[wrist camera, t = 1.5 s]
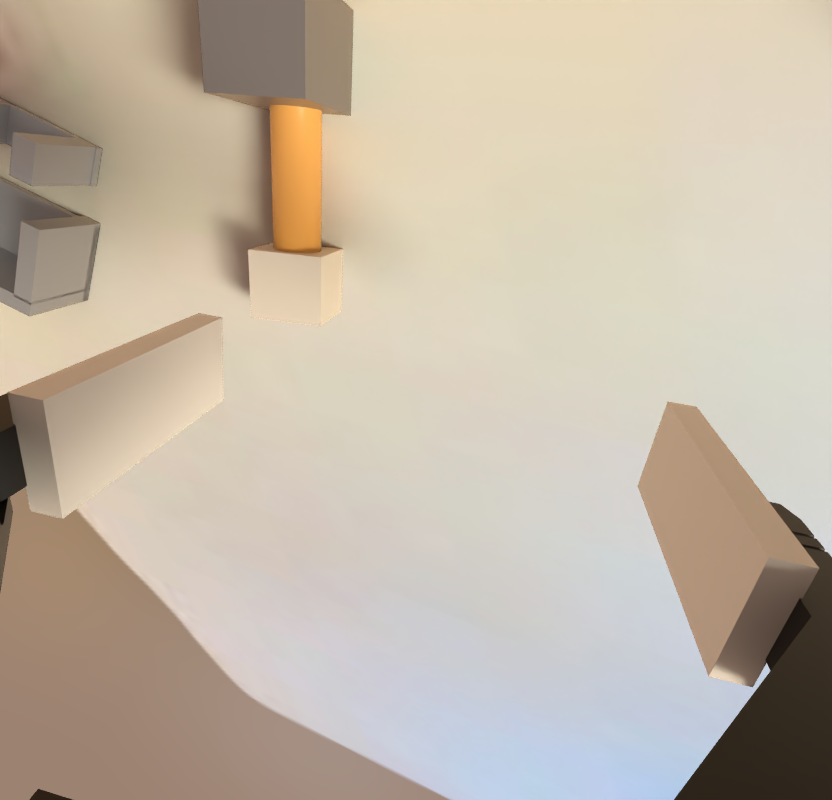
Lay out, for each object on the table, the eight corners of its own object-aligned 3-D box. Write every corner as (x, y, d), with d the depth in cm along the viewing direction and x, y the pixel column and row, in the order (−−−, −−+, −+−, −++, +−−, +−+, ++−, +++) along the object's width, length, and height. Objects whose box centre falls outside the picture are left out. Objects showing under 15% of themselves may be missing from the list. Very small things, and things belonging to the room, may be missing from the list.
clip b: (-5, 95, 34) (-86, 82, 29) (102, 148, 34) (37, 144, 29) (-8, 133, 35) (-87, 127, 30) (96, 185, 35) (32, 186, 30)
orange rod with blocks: (259, -214, 26) (173, -343, 20) (359, -216, 25) (303, -350, 19) (274, 302, 36) (220, 329, 30) (345, 311, 35) (306, 340, 29)
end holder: (-20, 163, 36) (-98, 161, 31) (100, 223, 36) (39, 230, 31) (-25, 244, 38) (-98, 252, 34) (87, 300, 38) (29, 316, 34)
